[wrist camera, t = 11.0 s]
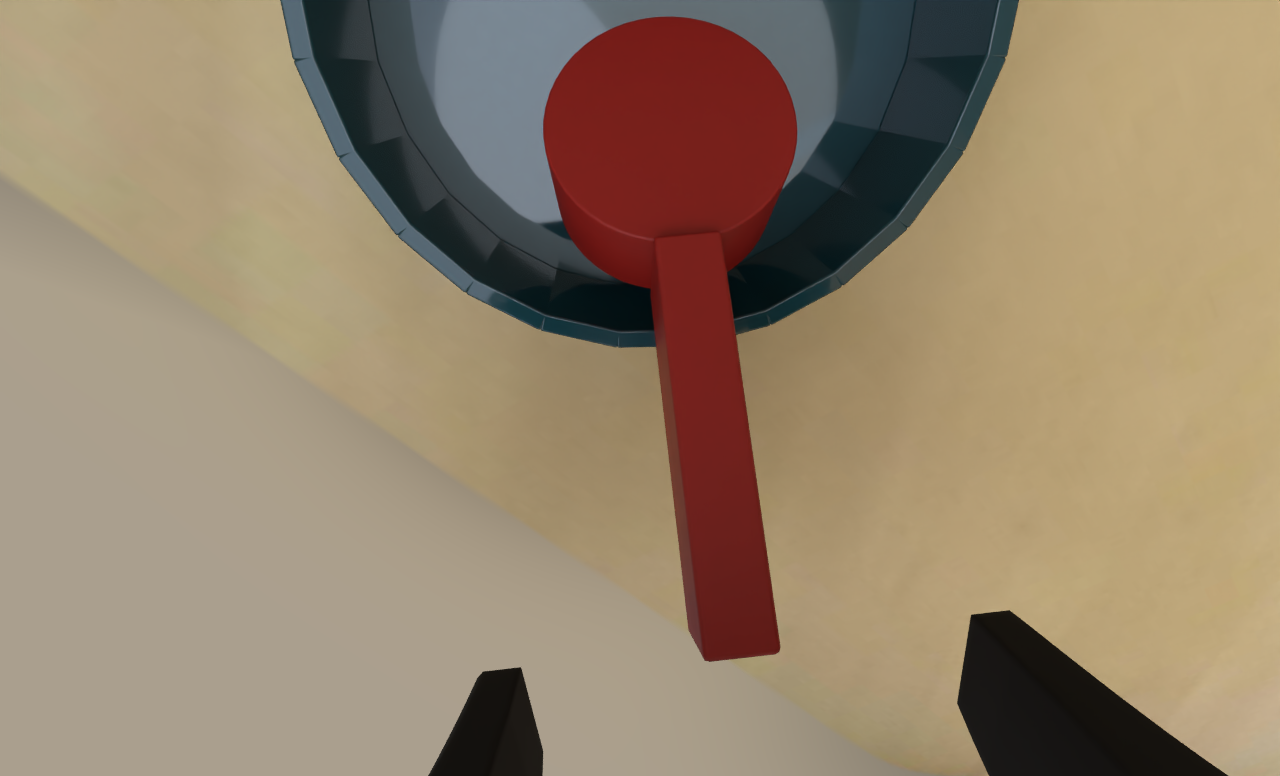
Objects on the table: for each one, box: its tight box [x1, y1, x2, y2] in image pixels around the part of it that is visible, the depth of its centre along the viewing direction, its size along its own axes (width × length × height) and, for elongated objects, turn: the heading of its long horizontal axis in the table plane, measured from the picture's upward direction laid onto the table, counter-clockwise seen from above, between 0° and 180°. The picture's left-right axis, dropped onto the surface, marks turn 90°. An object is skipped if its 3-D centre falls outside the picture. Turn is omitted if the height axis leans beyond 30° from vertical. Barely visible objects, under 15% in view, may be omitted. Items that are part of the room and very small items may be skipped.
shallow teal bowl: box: [280, 0, 1019, 348], centre depth 13 cm, size 13×13×4 cm
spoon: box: [543, 16, 797, 662], centre depth 12 cm, size 12×5×3 cm
